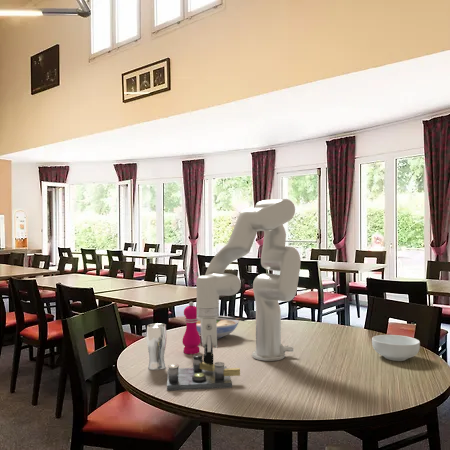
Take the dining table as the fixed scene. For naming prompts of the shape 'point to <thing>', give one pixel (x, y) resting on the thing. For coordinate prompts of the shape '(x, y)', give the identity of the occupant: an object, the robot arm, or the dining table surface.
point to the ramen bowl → (223, 325)
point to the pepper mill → (191, 330)
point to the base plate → (197, 380)
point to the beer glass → (156, 345)
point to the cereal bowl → (396, 346)
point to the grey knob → (225, 371)
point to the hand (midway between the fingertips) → (208, 366)
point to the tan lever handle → (201, 364)
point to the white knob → (173, 372)
